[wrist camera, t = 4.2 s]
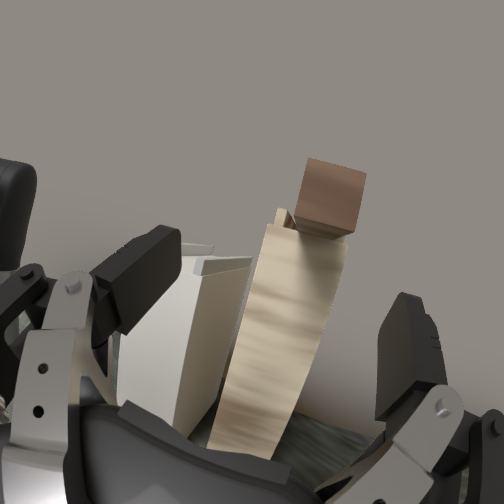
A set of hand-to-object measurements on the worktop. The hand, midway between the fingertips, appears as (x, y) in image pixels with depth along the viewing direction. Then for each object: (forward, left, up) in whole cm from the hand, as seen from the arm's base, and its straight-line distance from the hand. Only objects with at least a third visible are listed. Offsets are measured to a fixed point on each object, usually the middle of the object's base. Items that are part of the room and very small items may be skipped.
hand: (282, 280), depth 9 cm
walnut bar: (-6, +17, +3) cm, 18 cm away
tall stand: (-8, +22, -29) cm, 37 cm away
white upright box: (-19, +18, -29) cm, 39 cm away
